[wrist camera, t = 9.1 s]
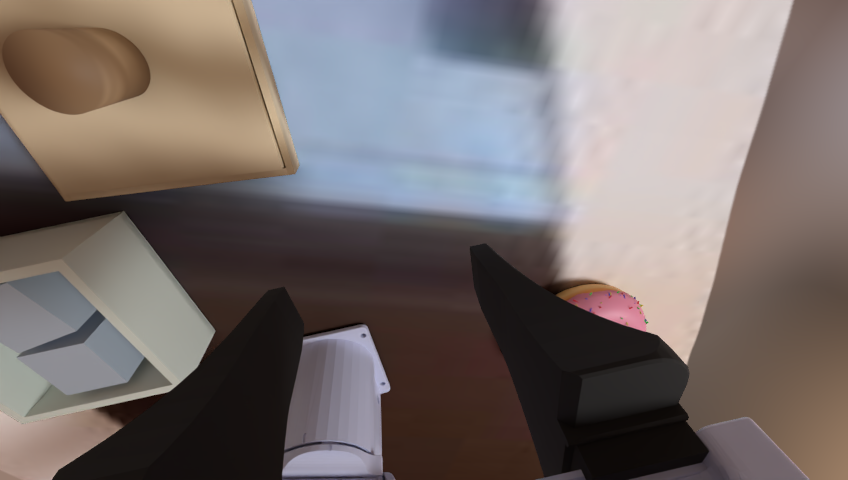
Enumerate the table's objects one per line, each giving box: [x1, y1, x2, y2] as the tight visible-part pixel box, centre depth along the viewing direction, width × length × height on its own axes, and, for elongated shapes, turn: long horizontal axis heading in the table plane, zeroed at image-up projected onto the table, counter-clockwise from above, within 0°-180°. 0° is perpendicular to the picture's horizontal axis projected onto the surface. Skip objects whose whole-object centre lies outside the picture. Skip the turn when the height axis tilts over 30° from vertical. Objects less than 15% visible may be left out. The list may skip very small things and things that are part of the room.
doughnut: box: [556, 284, 648, 332], centre depth 30 cm, size 11×11×4 cm
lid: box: [0, 0, 299, 201], centre depth 14 cm, size 12×12×5 cm
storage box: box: [0, 211, 215, 424], centre depth 21 cm, size 11×11×5 cm
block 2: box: [16, 310, 145, 395], centre depth 23 cm, size 4×4×4 cm
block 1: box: [0, 271, 97, 353], centre depth 20 cm, size 4×4×4 cm
